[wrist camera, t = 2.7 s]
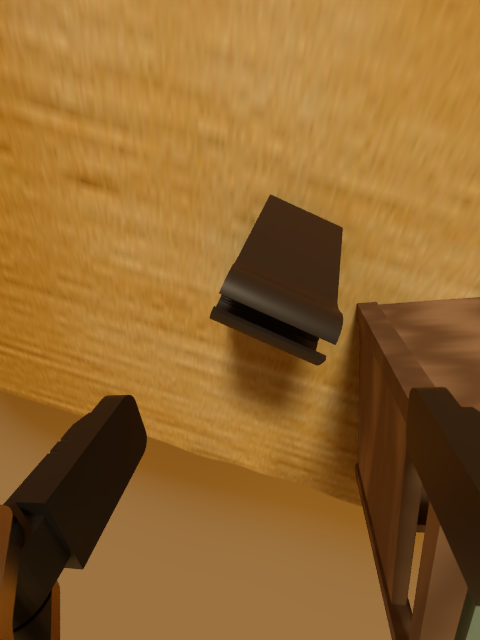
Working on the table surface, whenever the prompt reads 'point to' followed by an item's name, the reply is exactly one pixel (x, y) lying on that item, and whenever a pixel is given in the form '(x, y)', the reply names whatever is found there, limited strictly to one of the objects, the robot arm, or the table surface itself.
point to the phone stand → (286, 282)
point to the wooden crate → (393, 456)
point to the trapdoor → (469, 620)
